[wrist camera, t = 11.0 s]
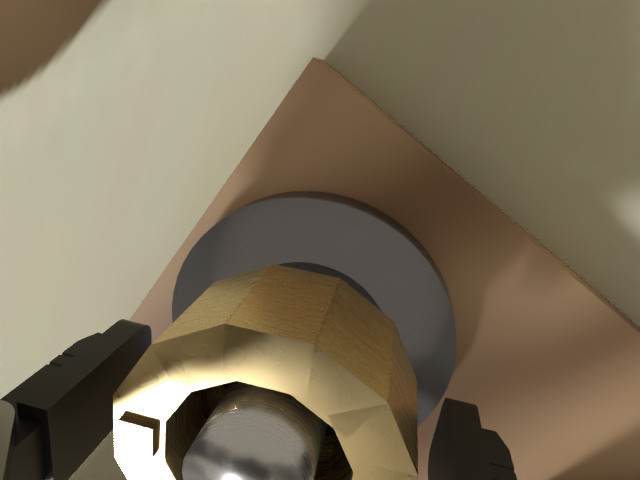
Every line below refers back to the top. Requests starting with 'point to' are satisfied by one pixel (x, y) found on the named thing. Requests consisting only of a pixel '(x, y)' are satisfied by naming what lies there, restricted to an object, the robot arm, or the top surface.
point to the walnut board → (458, 285)
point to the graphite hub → (328, 259)
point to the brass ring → (275, 375)
